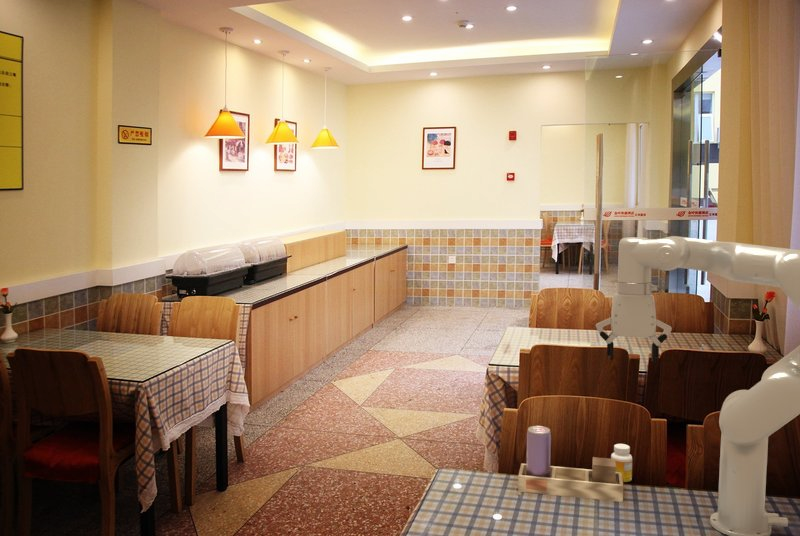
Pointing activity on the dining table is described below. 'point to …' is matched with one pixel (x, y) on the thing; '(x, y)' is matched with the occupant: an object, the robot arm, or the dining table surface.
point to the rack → (570, 484)
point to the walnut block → (604, 470)
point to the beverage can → (538, 451)
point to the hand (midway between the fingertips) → (632, 360)
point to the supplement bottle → (623, 461)
